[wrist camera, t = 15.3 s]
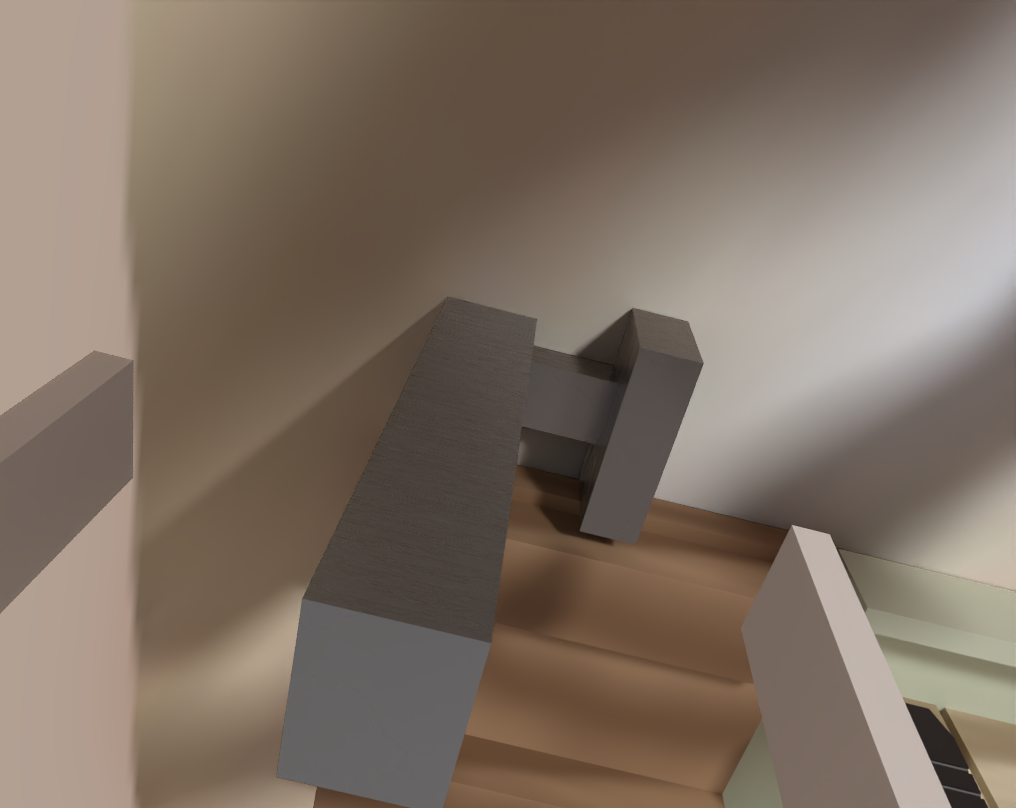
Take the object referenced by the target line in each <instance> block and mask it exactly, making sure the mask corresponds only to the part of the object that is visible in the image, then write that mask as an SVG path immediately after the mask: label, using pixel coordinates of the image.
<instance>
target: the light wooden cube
mask: <svg viewBox="0 0 1016 808" xmlns="http://www.w3.org/2000/svg"><path fill="white" fill-rule="evenodd" d="M941 716H942V718H943V720H944V721H945V723H946V725H947V727H948V729H949V731H950V733H951V735H952V736H953V737H954V739H955V741H956V743H957V745H958V747H959V749H960V751H961V753H962V755H963V757H964V759H965V761H966V763H967V765H968V767H969V769H970V771H971V773H972V775H973V777H974V779H975V780H976V782H977V784H978V786H979V788H980V790H981V792H982V794H983V796H984V798H985V799H986V801H987V803H988V805H989V807H990V808H1016V725H1015V724H1011V723H1007V722H1002V721H998V720H994V719H990V718H986V717H982V716H978V715H974V714H970V713H965V712H961V711H957V710H953V709H949V708H944V710H943V711H942V713H941Z"/></svg>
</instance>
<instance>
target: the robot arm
mask: <svg viewBox="0 0 1016 808" xmlns="http://www.w3.org/2000/svg"><path fill="white" fill-rule="evenodd" d="M132 478H133V360H129V359H125V358H121V357H117V356H113V355H109V354H105V353H101V352H97V351H93V352H92V353H90V354H89V355H87V356H86V357H85V358H83V359H82V360H80V361H79V362H77V363H76V364H74V365H73V366H72V367H70V368H69V369H67V370H66V371H64V372H63V373H61V374H60V375H58V376H57V377H56V378H54V379H53V380H51V381H50V382H48V383H47V384H45V385H44V386H43V387H41V388H40V389H38V390H37V391H35V392H34V393H33V394H31V395H30V396H28V397H27V398H25V399H24V400H22V401H21V402H19V403H18V404H17V405H15V406H14V407H12V408H11V409H9V410H8V411H6V412H5V413H4V414H2V415H1V416H0V613H1V612H2V611H3V610H4V609H5V608H6V607H7V606H8V605H9V604H10V603H11V602H12V601H13V600H14V599H15V598H16V597H17V596H18V595H19V593H21V592H22V590H24V588H25V587H26V586H27V585H28V584H29V583H30V582H31V581H32V580H33V579H34V578H35V577H36V576H37V575H38V574H39V573H40V572H41V571H42V570H43V569H44V568H45V567H46V566H47V565H48V564H49V563H50V562H51V561H52V560H53V559H54V558H55V557H56V556H57V555H58V554H59V553H60V552H61V551H62V549H64V548H65V546H66V545H67V544H68V543H69V542H70V541H71V540H72V539H73V538H74V537H75V536H76V535H77V534H78V533H79V532H80V531H81V530H82V529H83V528H84V527H85V526H86V525H87V524H88V523H89V522H90V521H91V520H92V519H93V518H94V517H95V516H96V515H97V514H98V513H99V512H100V510H102V508H104V506H106V504H107V503H108V502H109V501H110V500H111V499H112V498H113V497H114V496H115V495H116V494H117V493H118V492H119V491H120V490H121V489H122V488H123V487H124V486H125V485H126V484H127V483H128V482H129V481H130V480H131V479H132ZM741 630H742V634H743V639H744V643H745V647H746V651H747V656H748V660H749V664H750V668H751V673H752V677H753V681H754V685H755V689H756V694H757V698H758V702H759V706H760V711H761V715H762V719H763V723H764V728H765V732H766V736H767V740H768V745H769V749H770V753H771V757H772V761H773V766H774V770H775V774H776V778H777V783H778V787H779V791H780V795H781V800H782V804H783V808H988V806H987V804H986V802H985V800H984V799H981V791H980V789H979V787H978V785H977V783H976V781H975V779H974V777H973V775H972V774H969V772H968V769H969V767H968V765H967V763H966V761H965V759H964V757H963V755H962V753H961V751H960V749H959V747H958V745H957V743H956V741H955V739H954V737H953V736H952V735H951V734H950V732H949V731H948V730H947V729H946V728H945V727H944V726H943V724H942V723H941V722H940V721H939V720H938V719H937V717H936V716H935V715H934V714H933V713H932V712H931V710H930V709H928V708H924V707H920V706H916V705H912V704H908V703H905V702H904V700H903V698H902V695H901V693H900V691H899V689H898V687H897V684H896V682H895V680H894V678H893V675H892V673H891V671H890V669H889V666H888V664H887V662H886V660H885V657H884V655H883V653H882V651H881V648H880V646H879V644H878V642H877V639H876V637H875V635H874V633H873V630H872V628H871V626H870V624H869V621H868V619H867V617H866V615H865V612H864V610H863V608H862V606H861V603H860V601H859V599H858V597H857V594H856V592H855V590H854V588H853V586H852V583H851V581H850V579H849V577H848V574H847V572H846V570H845V568H844V565H843V563H842V561H841V559H840V556H839V554H838V552H837V550H836V547H835V545H834V543H833V541H832V538H831V536H830V534H826V533H822V532H818V531H814V530H810V529H806V528H802V527H798V526H794V525H792V526H791V528H790V530H789V532H788V534H787V536H786V538H785V540H784V542H783V544H782V546H781V548H780V550H779V552H778V554H777V556H776V558H775V560H774V562H773V564H772V566H771V568H770V570H769V572H768V574H767V576H766V578H765V580H764V582H763V584H762V586H761V588H760V590H759V592H758V595H757V597H756V599H755V601H754V603H753V605H752V607H751V609H750V611H749V613H748V615H747V617H746V619H745V621H744V623H743V625H742V627H741Z"/></svg>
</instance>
